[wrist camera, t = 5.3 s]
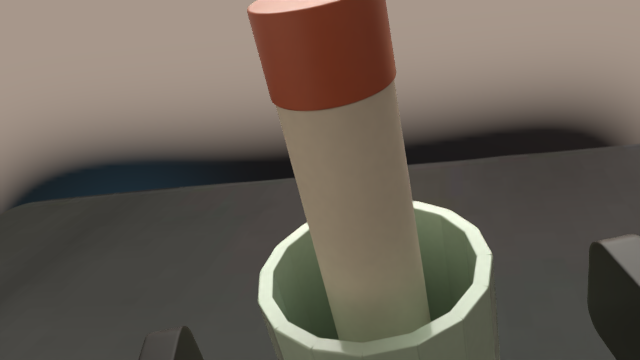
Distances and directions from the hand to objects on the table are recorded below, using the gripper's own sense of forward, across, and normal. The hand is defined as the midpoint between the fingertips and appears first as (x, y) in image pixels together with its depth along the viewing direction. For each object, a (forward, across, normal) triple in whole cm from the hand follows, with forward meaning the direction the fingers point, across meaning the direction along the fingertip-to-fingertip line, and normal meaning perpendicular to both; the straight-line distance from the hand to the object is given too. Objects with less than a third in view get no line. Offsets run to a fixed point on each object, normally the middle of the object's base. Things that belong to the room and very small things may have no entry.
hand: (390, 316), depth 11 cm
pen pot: (+9, 0, +14) cm, 17 cm away
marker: (+9, 0, +13) cm, 16 cm away
